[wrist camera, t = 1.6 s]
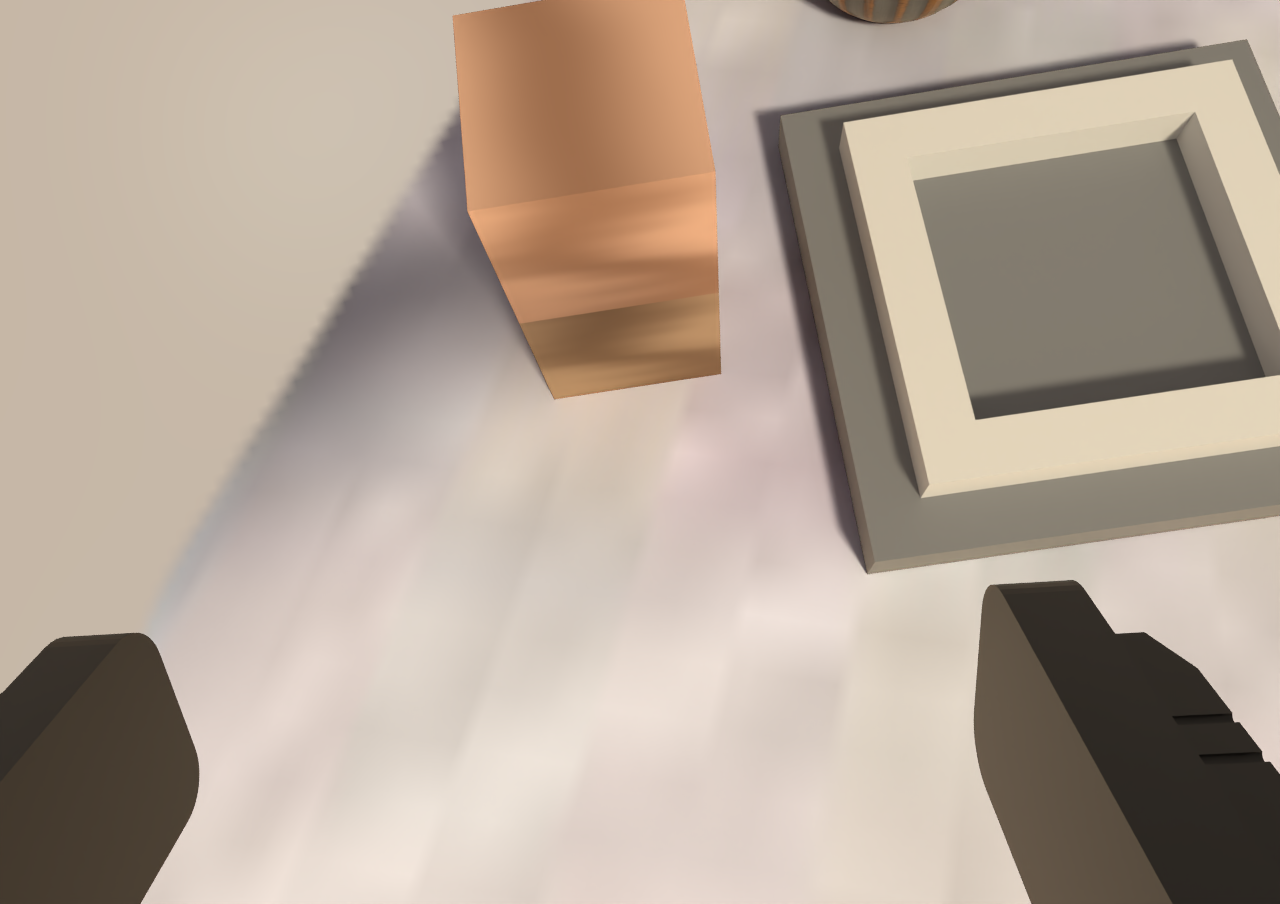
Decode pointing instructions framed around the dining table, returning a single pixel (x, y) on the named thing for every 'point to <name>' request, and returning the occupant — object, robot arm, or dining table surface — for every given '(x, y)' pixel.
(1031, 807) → the robot arm
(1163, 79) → the pocket board
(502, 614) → the dining table surface
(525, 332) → the copper rectangular block
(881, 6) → the vase
